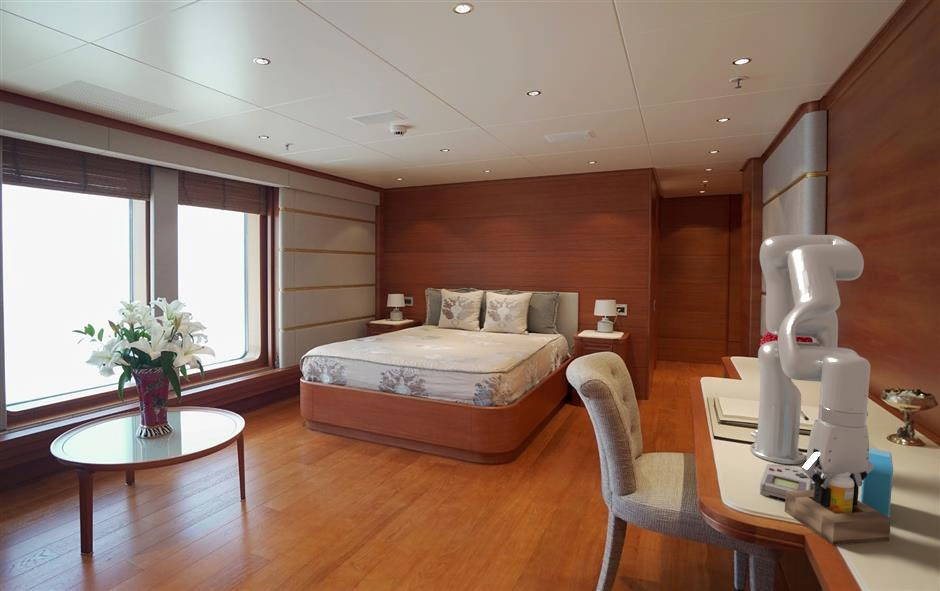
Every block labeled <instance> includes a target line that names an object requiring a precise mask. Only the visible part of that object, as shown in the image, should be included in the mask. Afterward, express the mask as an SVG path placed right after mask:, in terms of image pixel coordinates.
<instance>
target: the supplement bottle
mask: <svg viewBox="0 0 940 591" xmlns="http://www.w3.org/2000/svg"><path fill="white" fill-rule="evenodd" d="M824 475H825V474H823V473H822V475H821V478H822V479H823V477H824ZM850 475H851V473H848V472H846V473H844V474H834V475H832V478H831V481H830V483H829V486H828V488H830V489H831V495H830V506H829V507H825V508H826V509H828V510H829V511H831V512H833V513H834V514H841V513H852V506H853V494H854V481H853V480H852V478H850V477H849V476H850ZM820 505H821V504H820ZM821 506H822V505H821ZM823 507H824V506H823Z"/></svg>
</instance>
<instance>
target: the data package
mask: <svg viewBox="0 0 940 591" xmlns="http://www.w3.org/2000/svg"><path fill="white" fill-rule="evenodd" d="M892 458H893V457H892V452H890V451H886V450H881V449H876V448H872V447H869V460H870V462H871V463H872V464H873V466H874V469H873V470H872V471H870V472H869V473H868V474H867V476H866V477H865V479H864V480H863V481H862V485H861V486H860V502H862V503H864V504H866V505H867V506H869V507H871V508H873V509H875V510H876V511H878V512H880V513H882V514H884V515H885V516H887V517H889V518H890V513H891V512H890V511H891V503H892V502H891V500H892V490H893V489H892V488H893V480H894V479H893V478H894V477H893V476H894V465H893V459H892Z"/></svg>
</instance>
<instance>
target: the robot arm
mask: <svg viewBox="0 0 940 591" xmlns="http://www.w3.org/2000/svg"><path fill="white" fill-rule="evenodd" d="M759 262H760V267H761V271H762V274H763V277H764V279H765V283H766V284H765V286H766V292H765V327H766V330H767V331H768V333H770V334H772V335H775V336H777V340H771V341H767V342H765V343H763V344H762V345H760V347H759V349H758V352H757V358H758V365H759V366H758V368H759V378H760V380H759V388H760V389H759V404H758V417H757V418H758V419H757V420H758V421H757V428H756V429H755V430H754V431H751V432H750V434H749V435H750V436H751V437H752V438H754V442H753V443H752V444H750V447H749V448H750V450H749V451H750V452H751V453H752V455H755V456H756V457H758V458H760V459H763V460H766V461H769V462H772V463H773V462H774V463H778V464H782V465H783V464H784V465H798V464H802V463H803V462H805V458H806V462H805V463H804V464H803V466H802V467H801V469H802V470H803V471H804V472H805V473H806V474H807V475H808V476H809V477H810V478H811V479H812V483H814V489H813V490H814V500H815V501H816V502H818V503H819V504H821V505H822V506H824V507H829V506H830V495H831V489H830V488H828V486H829V483H830V481H831V478H832V475H834V474H844V473H846V472H848V473H851V475H850V476H849V477H850V478H852V480H853V481H854V494H853V506H857V504H858V501H859V490H860V489H859V488H861V485H862V481H863V480H864V479H865V477H866V476H867V474H868V473H869V472H870V471H872V470H873V469H874V466H873V464H872V463H871V462H870V460H869V448H870V437H869V430H868V429H869V428H868V426H867V417H868V416H869V412H868V405H869V404H868V401H869V389H870V379H871V377H870V376H871V364H870V362H869V360H868V359H866V357H865V358H864V357H862V356H860V355H859V354H858V352H856V351H855V350H854V349H851V348H847V347H838V342H839V341H838V340H839V339H838V338H839V334H838V333H839V320H838V314H837V312H836V311H837V310H838V309H839V308H840V306H841V298H840V293H839V289H838V285H837V281H854V280H856V279H859V278H860V276H862V274H863V270H864V266H865V265H864V264H865V261H864V257H863V254H862V252H861V251H860V249H859V248H858V247H857V245H855V244H854V243H852V242H851V241H848V240H847V239H845V238H842V237H841V236H838V235H835V234H784V235H782V234H781V235H774V236H771V237H768V238H766V239H765V240H763V242H761V245H760V248H759ZM797 337H800V338H811V339H812V342H811V341H810V342H808V341H807V342H804V341H797ZM793 380H796V381H806V382H820V389H819V390H820V391H819V393H820V394H819V404H818V405H819V406H818V419H814V422H813V424H812V427H811V429H810V434H809V438H808V445H807V450H806V457H805V454H804V453H803V452H801V451H800V450H799V443H800V441H799V439H800V428H801V427H800V425H801V409H802V393H801V391H800V389H799V388H798V387H797V385H796V384H795V383H794V382H793ZM822 473H823V474H825V475H824V477H823V479H822V478H821V475H822Z"/></svg>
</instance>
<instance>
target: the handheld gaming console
mask: <svg viewBox="0 0 940 591" xmlns="http://www.w3.org/2000/svg"><path fill="white" fill-rule="evenodd" d="M812 483H813V481H812V479H811V478H810V477H809V476H808V475H807V474H806V473H805V472H804V471H803V470H802V468H798V467H794V466H790V465H786V464H784V465H783V464H772V463H767V464H766V466H765V468H764V471H763V474H762V478H761V479H760V484H759V494H760V495H762V496H763V497H764V496H765V497H768V498H770V496H771V497H772V496H773V497H777V498H780V499H785V497H786V491H799V490H812Z"/></svg>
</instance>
